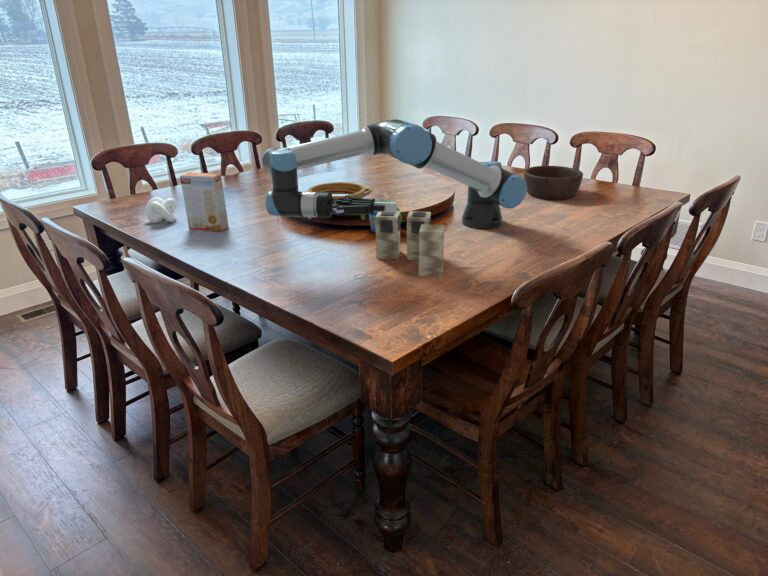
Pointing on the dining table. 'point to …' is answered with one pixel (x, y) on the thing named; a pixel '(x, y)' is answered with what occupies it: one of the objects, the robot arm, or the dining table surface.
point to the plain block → (431, 250)
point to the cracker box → (204, 201)
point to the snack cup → (372, 217)
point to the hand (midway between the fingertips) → (396, 207)
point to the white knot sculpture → (160, 209)
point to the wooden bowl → (552, 182)
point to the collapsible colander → (341, 189)
